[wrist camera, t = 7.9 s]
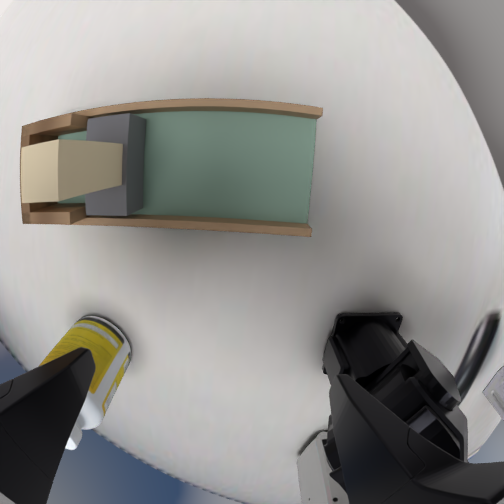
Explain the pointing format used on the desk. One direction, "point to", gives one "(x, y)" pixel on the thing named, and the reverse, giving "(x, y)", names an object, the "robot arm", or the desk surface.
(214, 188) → the pitch
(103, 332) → the pill bottle
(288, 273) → the desk surface
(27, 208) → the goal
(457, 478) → the robot arm
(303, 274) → the desk surface
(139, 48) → the desk surface
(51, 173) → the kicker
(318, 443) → the stereo radio cassette player
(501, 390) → the game console
